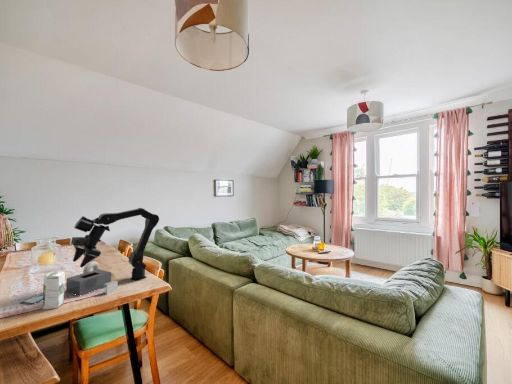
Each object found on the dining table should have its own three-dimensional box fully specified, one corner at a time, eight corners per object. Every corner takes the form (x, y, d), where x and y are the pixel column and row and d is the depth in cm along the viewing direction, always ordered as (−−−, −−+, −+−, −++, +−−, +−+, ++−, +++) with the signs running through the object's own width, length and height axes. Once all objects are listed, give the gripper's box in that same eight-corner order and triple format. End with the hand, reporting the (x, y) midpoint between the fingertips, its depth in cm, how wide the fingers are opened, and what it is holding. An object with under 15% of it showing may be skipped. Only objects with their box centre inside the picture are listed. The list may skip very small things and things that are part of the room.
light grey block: (114, 289, 125) (114, 280, 125) (117, 290, 124) (117, 281, 124) (103, 293, 119) (104, 284, 120) (107, 294, 118) (107, 284, 118)
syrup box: (48, 304, 107) (49, 272, 107) (64, 302, 109) (65, 271, 109) (41, 310, 102) (42, 276, 102) (58, 308, 104) (59, 275, 104)
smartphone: (18, 302, 107) (51, 288, 122) (18, 304, 107) (51, 290, 122) (32, 304, 106) (63, 289, 121) (32, 306, 106) (63, 291, 121)
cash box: (97, 281, 135) (98, 269, 135) (110, 285, 130) (111, 272, 130) (66, 291, 120) (66, 278, 120) (79, 296, 116) (79, 282, 116)
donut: (86, 282, 133) (86, 264, 133) (81, 281, 134) (81, 263, 134) (100, 276, 143) (101, 259, 143) (96, 275, 144) (96, 259, 144)
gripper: (72, 226, 125) (53, 254, 120) (87, 234, 115) (67, 266, 110) (93, 233, 134) (76, 260, 129) (108, 241, 123) (91, 271, 118)
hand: (77, 264), depth 121 cm, fingers open, 9 cm apart
